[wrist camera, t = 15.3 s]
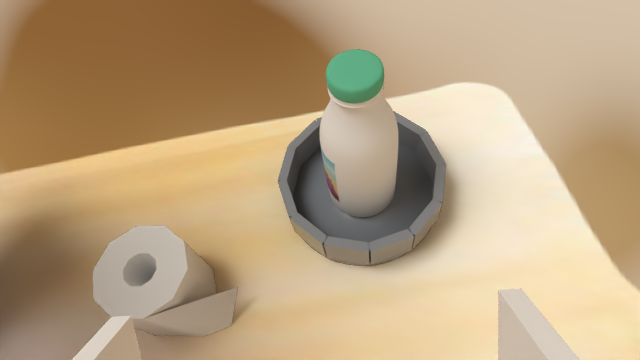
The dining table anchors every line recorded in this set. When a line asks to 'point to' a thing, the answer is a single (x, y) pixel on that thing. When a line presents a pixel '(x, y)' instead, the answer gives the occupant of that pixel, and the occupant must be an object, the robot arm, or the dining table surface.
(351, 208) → the milk bottle
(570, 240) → the dining table surface
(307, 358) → the dining table surface
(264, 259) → the dining table surface
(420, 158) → the bowl
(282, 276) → the dining table surface
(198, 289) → the toilet tissue
